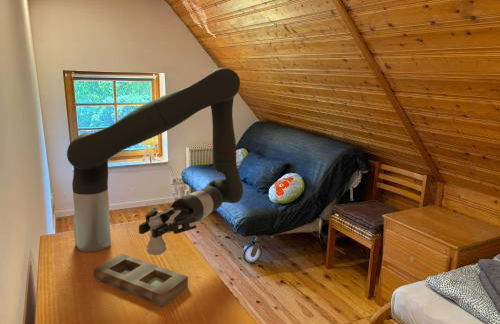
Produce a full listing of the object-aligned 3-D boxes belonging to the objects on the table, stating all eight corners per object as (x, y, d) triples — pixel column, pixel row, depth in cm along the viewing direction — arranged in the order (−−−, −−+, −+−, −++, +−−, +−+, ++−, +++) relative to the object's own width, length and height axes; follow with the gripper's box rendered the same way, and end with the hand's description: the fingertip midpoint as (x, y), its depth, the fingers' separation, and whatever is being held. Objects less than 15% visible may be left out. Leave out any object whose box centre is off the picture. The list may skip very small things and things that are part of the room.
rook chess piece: (161, 256, 83) (160, 224, 81) (143, 254, 84) (141, 222, 82) (169, 247, 87) (168, 216, 85) (152, 245, 88) (150, 214, 86)
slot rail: (94, 279, 91) (93, 268, 90) (122, 263, 99) (121, 253, 98) (163, 307, 81) (162, 295, 80) (187, 287, 89) (187, 276, 88)
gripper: (171, 189, 98) (122, 210, 84) (215, 199, 92) (171, 222, 77) (172, 215, 100) (124, 240, 85) (215, 226, 94) (172, 255, 79)
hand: (146, 231), depth 81 cm, fingers closed on rook chess piece, 3 cm apart
